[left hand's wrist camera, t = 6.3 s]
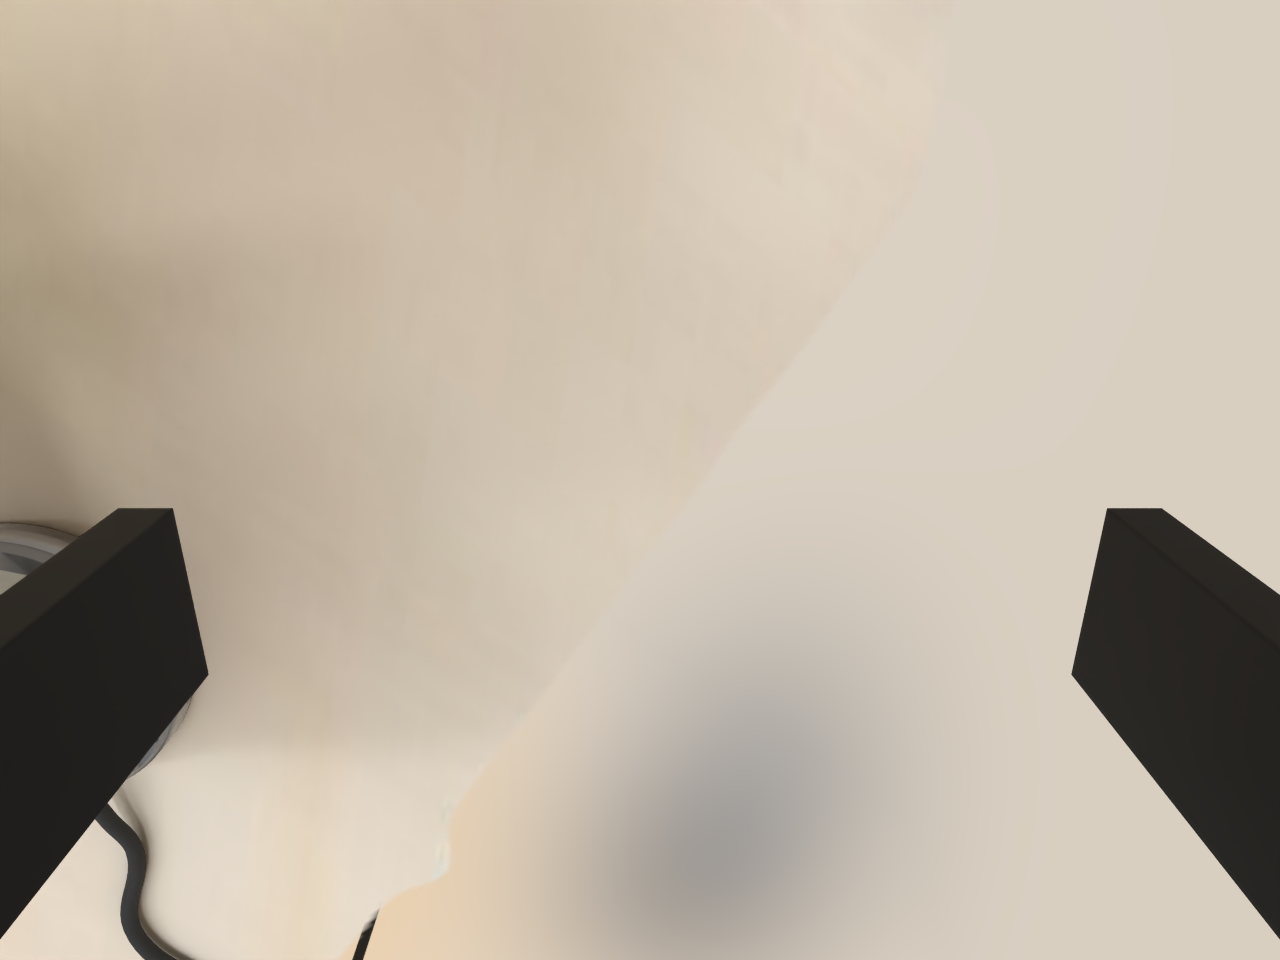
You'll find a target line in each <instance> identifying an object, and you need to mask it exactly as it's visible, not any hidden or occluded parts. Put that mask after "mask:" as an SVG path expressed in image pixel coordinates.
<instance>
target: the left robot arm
mask: <svg viewBox="0 0 1280 960" xmlns="http://www.w3.org/2000/svg"><path fill="white" fill-rule="evenodd" d="M208 675H209V674H208V669H207V665H206V660H205V655H204V651H203V646H202V642H201V637H200V632H199V628H198V623H197V618H196V614H195V609H194V604H193V600H192V595H191V590H190V586H189V581H188V576H187V572H186V567H185V563H184V558H183V553H182V549H181V544H180V539H179V535H178V530H177V525H176V521H175V516H174V511H173V508H118V509H117V510H115V511H114V512H113V513H111V514H110V515H109V516H107V517H106V518H105V519H103V520H102V521H100V522H99V523H98V524H96V525H95V526H94V527H92V528H91V529H89V530H88V531H87V532H85V533H84V534H83V535H81V536H80V537H76V536H74V535H71V534H68V533H65V532H62V531H58V530H55V529H51V528H46V527H41V526H35V525H27V524H13V523H3V524H0V939H1V938H2V936H3V935H4V934H5V933H6V931H7V930H8V929H9V927H10V926H11V925H12V924H13V922H14V921H15V920H16V919H17V917H18V916H19V915H20V913H21V912H22V911H23V910H24V908H25V907H26V906H27V905H28V903H29V902H30V901H31V899H32V898H33V897H34V896H35V894H36V893H37V892H38V891H39V889H40V888H41V887H42V885H43V884H44V883H45V882H46V880H47V879H48V878H49V877H50V875H51V874H52V873H53V872H54V870H55V869H56V868H57V866H58V865H59V864H60V863H61V861H62V860H63V859H64V858H65V856H66V855H67V854H68V852H69V851H70V850H71V849H72V847H73V846H74V845H75V844H76V842H77V841H78V840H79V838H80V837H81V836H82V835H83V833H84V832H85V831H86V830H87V828H88V827H89V826H90V824H91V823H92V822H93V821H94V819H95V820H96V821H97V822H98V823H99V824H100V825H101V827H102V828H103V829H104V830H105V831H106V832H107V833H108V834H110V835H111V836H112V837H113V838H114V839H115V840H116V841H117V842H118V843H119V844H120V845H121V846H122V847H123V849H124V850H125V852H126V856H127V859H128V874H127V880H126V884H125V888H124V892H123V897H122V902H121V913H120V915H121V923H122V926H123V930H124V932H125V934H126V936H127V938H128V940H129V942H130V943H131V945H132V946H133V947H134V949H135V950H136V951H137V952H138V953H139V954H140V955H141V957H142V958H144V959H145V960H176V959H175V958H173V957H172V956H170V955H168V954H167V953H166V952H164V951H163V950H161V949H160V948H159V947H158V946H157V945H155V944H154V943H153V942H152V940H151V939H150V938H149V937H148V936H147V934H146V933H145V932H144V930H143V928H142V926H141V924H140V921H139V917H138V902H139V897H140V893H141V889H142V885H143V881H144V876H145V870H146V858H145V852H144V848H143V846H142V843H141V841H140V839H139V837H138V836H137V834H136V833H135V832H134V831H133V829H132V828H131V827H130V826H129V825H127V824H126V823H125V822H124V821H123V820H122V819H121V818H120V817H119V816H118V815H117V814H116V813H115V812H114V810H113V809H112V808H111V807H110V806H109V804H108V802H109V800H110V799H111V798H112V797H113V795H114V794H115V793H116V791H117V790H118V789H119V788H120V786H121V785H122V784H123V783H124V781H125V780H126V779H127V778H129V777H131V776H133V775H135V774H136V773H137V772H139V771H140V770H142V769H143V768H144V767H145V766H147V765H148V764H149V763H150V762H151V761H152V760H153V759H154V758H155V757H156V755H157V754H158V753H159V752H160V751H161V749H162V748H163V747H164V745H165V744H166V743H167V741H168V740H169V739H170V738H171V736H172V735H173V734H174V732H175V731H176V730H177V728H178V727H179V725H180V724H181V722H182V721H183V718H184V716H185V714H186V712H187V710H188V707H189V704H190V701H191V696H192V695H193V694H194V692H195V691H196V690H197V689H198V687H199V686H200V685H201V683H202V682H203V681H204V680H205V678H206V677H207V676H208ZM1072 676H1073V677H1074V678H1075V680H1076V681H1077V682H1078V683H1079V685H1080V686H1081V687H1082V688H1083V690H1084V691H1085V692H1086V693H1087V695H1088V696H1089V697H1090V699H1091V700H1092V701H1093V702H1094V704H1095V705H1096V706H1097V708H1098V709H1099V710H1100V711H1101V713H1102V714H1103V715H1104V716H1105V718H1106V719H1107V720H1108V722H1109V723H1110V724H1111V725H1112V727H1113V728H1114V729H1115V730H1116V732H1117V733H1118V734H1119V736H1120V737H1121V738H1122V739H1123V741H1124V742H1125V743H1126V744H1127V746H1128V747H1129V748H1130V749H1131V751H1132V752H1133V753H1134V755H1135V756H1136V757H1137V758H1138V760H1139V761H1140V762H1141V763H1142V765H1143V766H1144V767H1145V768H1146V770H1147V771H1148V772H1149V774H1150V775H1151V776H1152V777H1153V779H1154V780H1155V781H1156V783H1157V784H1158V785H1159V786H1160V788H1161V789H1162V790H1163V791H1164V793H1165V794H1166V795H1167V796H1168V798H1169V799H1170V800H1171V802H1172V803H1173V804H1174V805H1175V807H1176V808H1177V809H1178V811H1179V812H1180V813H1181V814H1182V816H1183V817H1184V818H1185V819H1186V821H1187V822H1188V823H1189V824H1190V826H1191V827H1192V828H1193V830H1194V831H1195V832H1196V833H1197V835H1198V836H1199V837H1200V838H1201V840H1202V841H1203V842H1204V843H1205V845H1206V846H1207V847H1208V849H1209V850H1210V851H1211V852H1212V854H1213V855H1214V856H1215V858H1216V859H1217V860H1218V861H1219V863H1220V864H1221V865H1222V866H1223V868H1224V869H1225V870H1226V872H1227V873H1228V874H1229V875H1230V877H1231V878H1232V879H1233V880H1234V882H1235V883H1236V884H1237V885H1238V887H1239V888H1240V889H1241V891H1242V892H1243V893H1244V894H1245V896H1246V897H1247V898H1248V899H1249V901H1250V902H1251V903H1252V905H1253V906H1254V907H1255V908H1256V910H1257V911H1258V912H1259V913H1260V915H1261V916H1262V917H1263V918H1264V920H1265V921H1266V922H1267V924H1268V925H1269V926H1270V927H1271V929H1272V930H1273V931H1274V933H1275V934H1276V935H1277V936H1278V938H1279V939H1280V595H1279V594H1278V593H1276V592H1275V591H1274V590H1272V589H1271V588H1270V587H1268V586H1267V585H1266V584H1264V583H1263V582H1261V581H1260V580H1259V579H1257V578H1256V577H1255V576H1253V575H1252V574H1251V573H1249V572H1248V571H1246V570H1245V569H1244V568H1242V567H1241V566H1240V565H1238V564H1237V563H1236V562H1234V561H1233V560H1231V559H1230V558H1229V557H1227V556H1226V555H1225V554H1223V553H1222V552H1221V551H1219V550H1218V549H1216V548H1215V547H1214V546H1212V545H1211V544H1210V543H1208V542H1207V541H1206V540H1204V539H1203V538H1201V537H1200V536H1199V535H1197V534H1196V533H1195V532H1193V531H1192V530H1190V529H1189V528H1188V527H1186V526H1185V525H1184V524H1182V523H1181V522H1179V521H1178V520H1177V519H1175V518H1174V517H1173V516H1171V515H1170V514H1169V513H1167V512H1166V511H1165V510H1163V509H1162V508H1107V511H1106V516H1105V521H1104V525H1103V530H1102V535H1101V539H1100V544H1099V549H1098V553H1097V558H1096V563H1095V567H1094V572H1093V577H1092V581H1091V586H1090V591H1089V595H1088V600H1087V605H1086V609H1085V614H1084V618H1083V623H1082V628H1081V632H1080V637H1079V642H1078V646H1077V651H1076V655H1075V660H1074V665H1073V669H1072ZM378 913H379V911H378V912H377V913H376V915H375V916H374V918H373V919H372V920H371V921H370V922H369V923H368V924H367V925H366V926H365V928H364V929H363V931H362V932H361V935H360V938H359V941H358V944H357V947H356V950H355V953H354V956H353V959H352V960H363V959H364V956H365V953H366V949H367V946H368V943H369V940H370V937H371V934H372V931H373V928H374V925H375V922H376V919H377V916H378Z"/></svg>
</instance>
